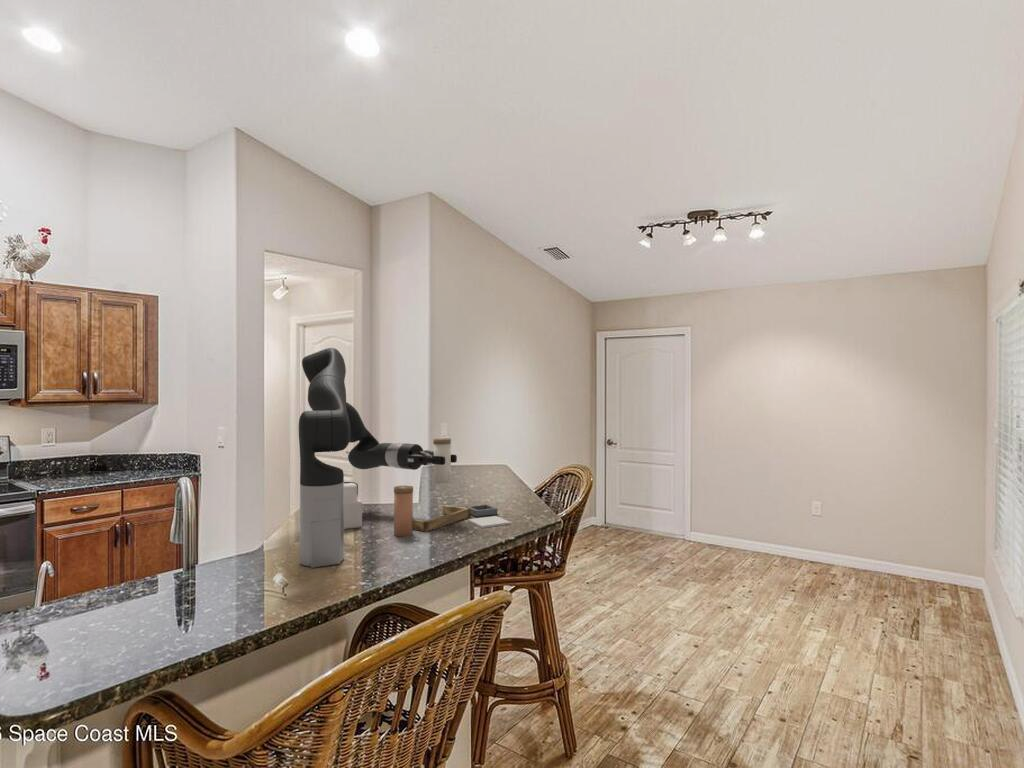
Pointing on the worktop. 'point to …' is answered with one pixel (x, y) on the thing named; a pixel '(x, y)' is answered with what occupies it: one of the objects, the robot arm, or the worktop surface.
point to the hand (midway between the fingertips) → (450, 459)
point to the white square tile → (489, 521)
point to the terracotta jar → (403, 510)
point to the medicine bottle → (352, 506)
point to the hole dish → (482, 510)
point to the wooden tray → (442, 518)
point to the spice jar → (444, 449)
